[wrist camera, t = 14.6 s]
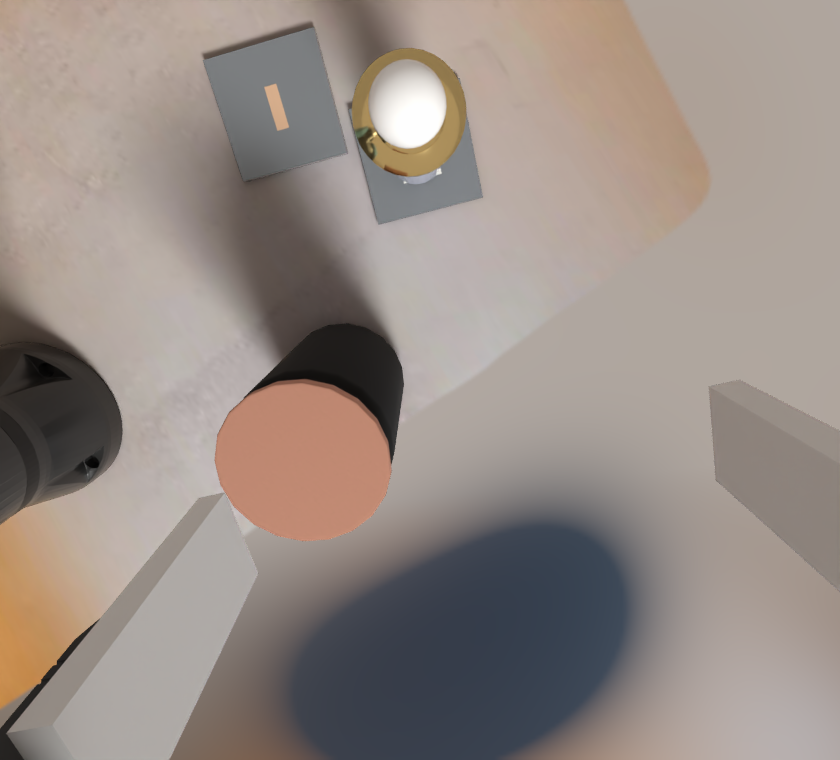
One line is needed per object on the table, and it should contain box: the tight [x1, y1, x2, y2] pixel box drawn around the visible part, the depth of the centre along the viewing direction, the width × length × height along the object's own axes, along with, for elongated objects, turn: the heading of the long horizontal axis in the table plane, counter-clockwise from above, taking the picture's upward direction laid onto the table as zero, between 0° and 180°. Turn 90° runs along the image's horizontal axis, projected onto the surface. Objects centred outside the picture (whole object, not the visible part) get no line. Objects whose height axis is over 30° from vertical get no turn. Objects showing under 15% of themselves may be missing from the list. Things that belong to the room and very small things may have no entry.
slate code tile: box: [349, 78, 483, 225], centre depth 41 cm, size 9×9×1 cm
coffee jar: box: [215, 324, 404, 541], centre depth 38 cm, size 11×11×18 cm
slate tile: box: [203, 27, 348, 182], centre depth 40 cm, size 9×9×1 cm
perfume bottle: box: [352, 48, 466, 184], centre depth 31 cm, size 6×6×20 cm
